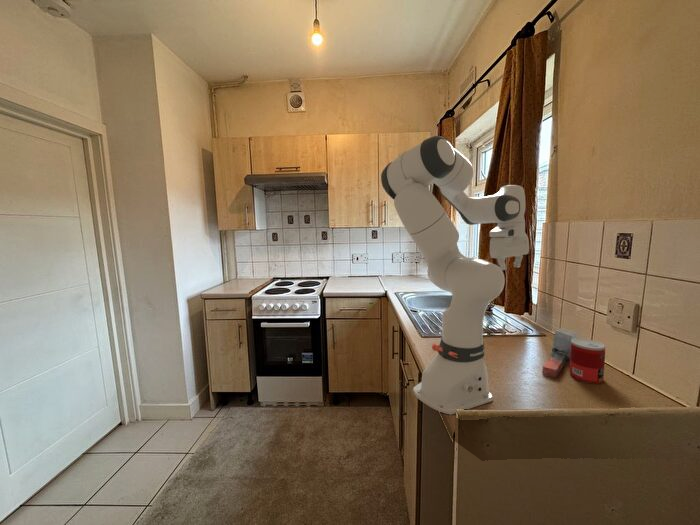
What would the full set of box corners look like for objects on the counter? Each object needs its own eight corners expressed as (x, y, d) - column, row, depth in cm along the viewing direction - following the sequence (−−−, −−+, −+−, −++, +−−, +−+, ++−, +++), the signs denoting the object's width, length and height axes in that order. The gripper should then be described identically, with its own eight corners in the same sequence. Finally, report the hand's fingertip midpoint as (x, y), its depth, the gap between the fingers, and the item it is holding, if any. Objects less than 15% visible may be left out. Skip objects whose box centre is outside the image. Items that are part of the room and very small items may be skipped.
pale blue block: (569, 354, 96) (572, 336, 95) (552, 348, 101) (555, 330, 99) (575, 350, 99) (578, 332, 98) (559, 344, 103) (561, 327, 102)
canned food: (606, 386, 81) (608, 350, 80) (570, 380, 85) (572, 345, 84) (600, 374, 88) (602, 340, 86) (567, 369, 92) (569, 336, 90)
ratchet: (562, 380, 85) (563, 363, 85) (535, 372, 91) (536, 356, 90) (578, 356, 100) (578, 341, 99) (554, 350, 105) (554, 336, 104)
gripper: (517, 230, 112) (516, 264, 113) (486, 232, 101) (486, 270, 102) (534, 229, 106) (533, 266, 108) (503, 232, 96) (503, 272, 97)
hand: (510, 268), depth 105 cm, fingers open, 8 cm apart
